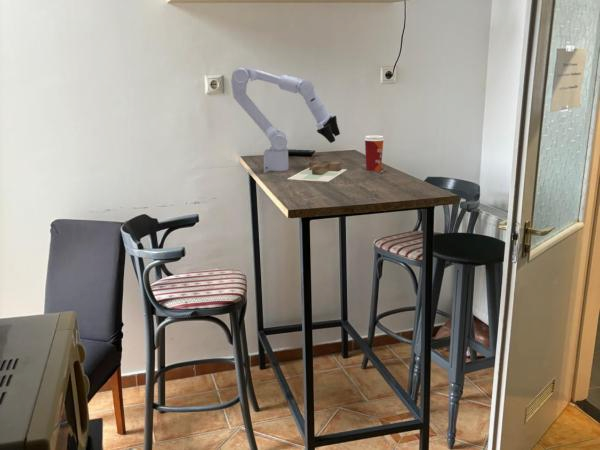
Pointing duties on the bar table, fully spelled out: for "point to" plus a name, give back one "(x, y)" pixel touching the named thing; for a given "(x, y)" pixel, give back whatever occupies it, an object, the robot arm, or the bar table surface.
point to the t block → (324, 167)
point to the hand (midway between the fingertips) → (335, 138)
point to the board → (309, 176)
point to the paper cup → (373, 152)
